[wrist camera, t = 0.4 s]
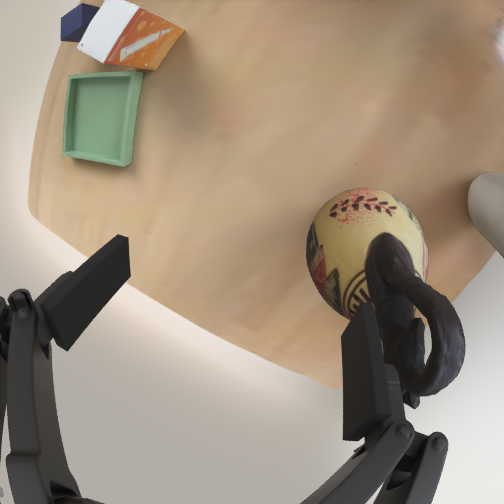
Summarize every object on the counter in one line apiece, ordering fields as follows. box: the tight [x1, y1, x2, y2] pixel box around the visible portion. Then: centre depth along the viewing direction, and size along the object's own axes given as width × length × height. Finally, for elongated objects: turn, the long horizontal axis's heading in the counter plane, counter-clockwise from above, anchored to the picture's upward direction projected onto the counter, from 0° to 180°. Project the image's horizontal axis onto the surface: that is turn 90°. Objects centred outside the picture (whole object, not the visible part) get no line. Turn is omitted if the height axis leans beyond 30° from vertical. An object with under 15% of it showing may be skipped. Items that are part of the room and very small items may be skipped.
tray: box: [63, 72, 144, 167], centre depth 37 cm, size 16×16×2 cm
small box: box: [77, 0, 185, 71], centre depth 25 cm, size 8×6×13 cm
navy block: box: [61, 3, 100, 42], centre depth 26 cm, size 5×5×8 cm
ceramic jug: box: [306, 163, 465, 409], centre depth 26 cm, size 17×15×30 cm
